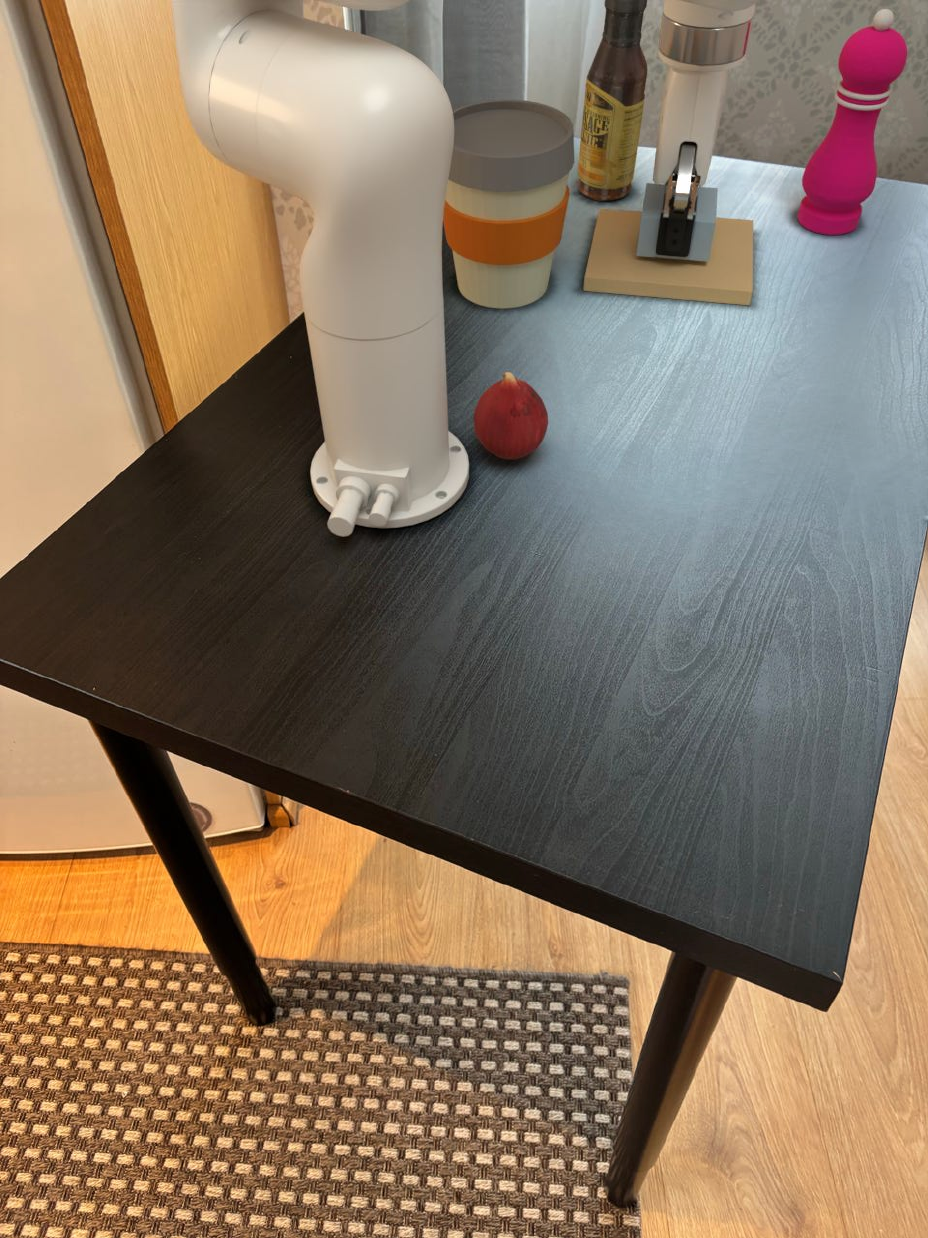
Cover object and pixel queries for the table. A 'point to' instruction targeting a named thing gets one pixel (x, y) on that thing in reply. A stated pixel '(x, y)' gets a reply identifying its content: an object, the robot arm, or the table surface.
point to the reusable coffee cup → (507, 198)
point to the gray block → (702, 224)
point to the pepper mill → (852, 130)
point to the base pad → (670, 263)
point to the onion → (510, 418)
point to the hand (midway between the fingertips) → (674, 233)
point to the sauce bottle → (613, 104)
